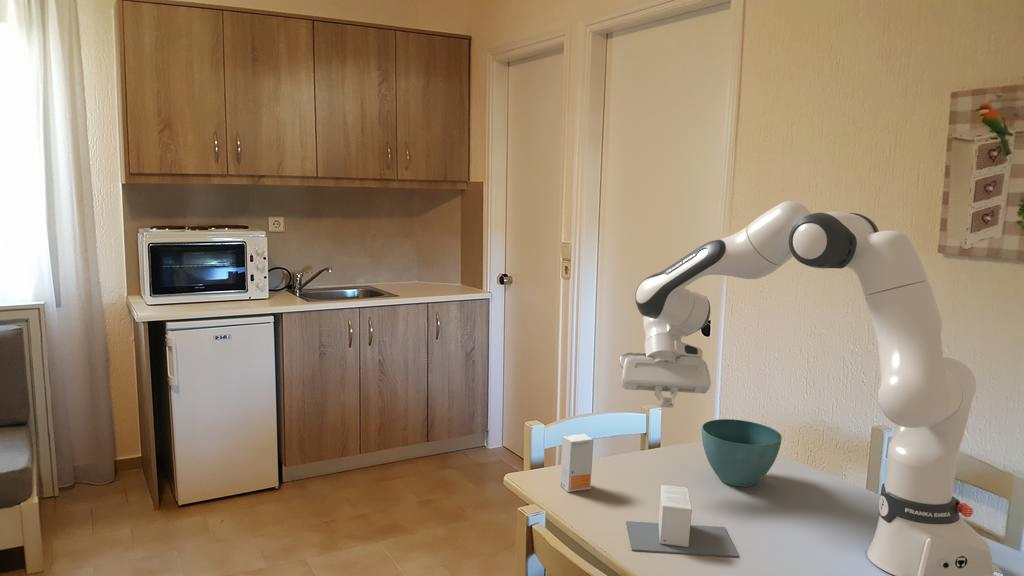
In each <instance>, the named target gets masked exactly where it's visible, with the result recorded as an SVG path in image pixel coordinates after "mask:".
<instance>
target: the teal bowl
mask: <svg viewBox="0 0 1024 576" xmlns="http://www.w3.org/2000/svg"><path fill="white" fill-rule="evenodd" d="M782 438H783V436H782V434H781V433H780V432H779V431H778V430H776V429H774V428H772V427H770V426H768V425H764V424H763V423H758V422H753V421H751V420H749V421H748V420H743V419H736V418H735V419H734V418H732V419H731V418H721V419H719V418H718V419H712V420H707V421H706V422H704V423H703V424H702V425H701V439H702V445H703V449H704V454H705V457H706V459H707V462H708V463H709V465H710V467H711V468H712V470H713V472H714V473H715V475H716V476H717V477H718V478H719V480H721V482H723V483H725V484H727V485H730V486H734V487H741V488H742V487H747V488H748V487H751V486H754V485H755V484H757V483H758V482H759V481H761V479H763V478H764V477H765V476H766V475H767V473H768V472H769V471H770V469H772V467H773V466H774V463H775V461H776V460H777V456H778V454H779V452H780V448H781V444H782Z"/></svg>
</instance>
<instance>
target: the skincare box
mask: <svg viewBox="0 0 1024 576" xmlns="http://www.w3.org/2000/svg"><path fill="white" fill-rule="evenodd" d="M561 439H562V443H561V445H562V446H561V456H560V457H561V458H560V459H561V461H560V478H559V479H560V480H559V486H560V487H561V488H563V490H565V491H566V492H567V493H569V492H570V493H572V492H577V491H585V490H591V487H592V486H591V485H592V469H593V467H592V466H593V457H594V456H593V453H594V438H592V437H591V436H589V435H588V434H586V433H581V434H570V435H563V436H562V438H561Z"/></svg>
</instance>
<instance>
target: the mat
mask: <svg viewBox="0 0 1024 576" xmlns="http://www.w3.org/2000/svg"><path fill="white" fill-rule="evenodd" d="M625 525H626V529H627V534H628V535H627V536H628V538H629V543H630V549H631V551H632V552H647V553H661V554H680V555H694V556H707V557H709V556H711V557H713V556H714V557H727V558H739V554H738V551H737V550H736V548H735V546H734V544H733V542H732V540H731V538H730V535H729V534H728V532H727V529H726V527H725V526H716V525H715V526H714V525H713V526H712V525H698V524H697V525H696V524H691V526H690V538H689V547H684V546H675V545H667V544H660V537H659V522H647V521H630V520H626V521H625Z"/></svg>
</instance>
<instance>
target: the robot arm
mask: <svg viewBox="0 0 1024 576" xmlns="http://www.w3.org/2000/svg"><path fill="white" fill-rule="evenodd" d="M792 258H794V259H795V260H796V261H797V262H799V263H801V264H803V265H804V266H807V267H811V268H815V269H840V270H841V269H844V268H847V269H850V270H852V271H853V272H854V273H855V275H856V276H857V278H858V280H859V282H860V285H861V290H862V292H863V297H864V299H865V302H866V305H867V309H868V312H869V315H870V319H871V322H872V326H873V329H874V333H875V337H876V343H877V351H878V363H879V375H880V385H879V389H878V394H877V401H878V405H879V408H880V410H881V411H882V413H883V415H884V416H885V417H886V418H887V419H888V420H889V421H890V422H892V423H893V424H895V425H896V428H895V431H894V433H893V436H892V437H891V440H890V442H889V443H888V447H887V457H886V465H885V476H884V483H882V484H881V489H880V496H879V500H878V501H879V502H878V514H879V517H878V521H877V524H876V529H875V533H874V535H873V538H872V541H871V543H870V546H869V548H868V549H867V552H866V554H867V557H868V559H869V560H870V562H872V563H873V565H875V566H876V567H878V568H879V569H881V570H882V571H884V572H886V573H888V574H891V575H893V576H996V575H994V574H993V573H994V572H997V573H1000V574H1004V573H1003V572H1002V570H1001V569H1000V568H999V567H998V566H997V565H996V564H995V563H993V555H992V551H991V548H990V546H989V545H990V544H988V542H987V541H986V540H985V538H984V537H982V536H981V535H980V534H979V533H978V532H977V531H976V530H975V529H974V528H972V527H971V526H970V525H969V523H967V522H966V521H965V520H964V519H962V518H961V516H960V514H961V515H962V516H963V517H965V518H970V517H972V516H973V515H974V509H973V508H972V507H971V506H969V505H968V504H967V503H966V502H961V501H960V500H959V499H958V498H956V497H954V496H953V490H954V484H955V475H956V466H957V462H958V461H957V460H958V455H959V451H960V447H961V445H962V441H963V437H964V435H965V431H966V427H967V423H968V419H969V415H970V412H971V406H972V403H973V399H974V397H975V394H976V392H977V380H976V379H977V378H976V376H975V373H974V372H973V371H972V370H971V368H970V367H969V366H968V365H967V364H965V363H964V362H962V361H960V360H957V359H954V358H952V357H951V358H950V357H946V356H944V353H943V351H944V350H943V343H942V327H943V322H942V317H941V314H940V311H939V308H938V304H937V302H936V299H935V296H934V292H933V290H932V287H931V283H930V281H929V278H928V275H927V272H926V269H925V267H924V265H923V262H922V260H921V258H920V255H919V253H918V251H917V250H916V248H915V246H914V245H913V243H912V241H911V239H910V238H909V237H908V235H906V234H905V233H904V232H901V231H897V230H891V229H889V230H886V229H885V230H881V231H880V229H879V228H878V226H877V224H876V223H875V222H874V221H873V220H871V218H869V217H867V216H866V215H863V214H861V213H855V212H844V211H835V210H832V211H826V212H825V211H824V212H813V213H812V212H811V211H810V210H809V208H807V207H806V206H805V205H803V204H802V203H800V202H798V201H793V200H787V201H783V202H780V203H779V204H777V205H776V206H773V207H771V208H770V209H768V210H767V211H765V212H764V213H762V214H761V215H760V216H758V217H757V218H755V219H754V220H753V221H751V223H749V224H747V226H745V227H744V228H743V229H741V230H739V231H737V232H735V233H733V234H731V235H729V236H726V237H723V238H719V239H715V240H710V241H708V242H706V243H704V244H703V245H701V246H699V247H697V248H696V249H694V250H693V251H691V252H689V253H688V254H686V255H685V256H683V257H682V258H680V259H678V260H677V261H675V262H674V263H672V264H670V265H669V266H668V267H666V268H664V269H663V270H661V271H659V272H656V273H653V274H651V275H649V276H648V277H646V278H645V279H643V280H641V282H640V283H639V284H638V286H637V288H636V290H635V294H634V297H635V304H636V307H637V309H638V311H639V313H640V315H642V316H643V319H642V322H643V323H642V324H643V325H642V327H643V332H644V336H645V339H644V343H643V344H644V352H643V353H642V352H635V353H634V352H626V353H624V354H622V355H621V356H620V358H619V366H620V367H621V368H622V373H621V383H620V384H621V386H622V388H623V389H624V390H629V391H634V390H635V391H648V392H654V396H655V397H656V399H657V400H658V401H659V406H660V408H670V409H674V407H675V406H674V405H675V399H676V398H677V395H678V393H686V394H687V393H688V394H706V393H708V391H709V390H710V388H711V384H712V383H711V382H712V381H711V375H710V371H709V367H708V364H707V362H706V361H705V360H704V358H703V349H702V348H700V347H697V346H694V345H691V344H688V343H686V342H683V341H682V338H683V337H688V336H690V335H693V334H694V333H697V332H698V331H700V330H702V329H703V328H704V327H705V326H706V325H707V324H708V322H709V320H710V316H711V304H710V300H709V299H708V296H705V295H704V294H702V293H700V292H697V291H695V290H693V289H691V288H688V286H689V285H691V284H692V283H694V282H696V281H697V280H698V279H700V278H703V277H707V276H715V275H717V276H727V277H734V278H739V279H744V280H758V279H761V278H765V277H766V276H769V275H771V274H772V273H774V272H775V271H777V270H778V269H779V268H780V267H782V266H783V265H785V264H786V263H787V262H788V261H790V260H791V259H792ZM662 392H665V393H666V392H667V393H670V397H664V396H663V394H662Z"/></svg>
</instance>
